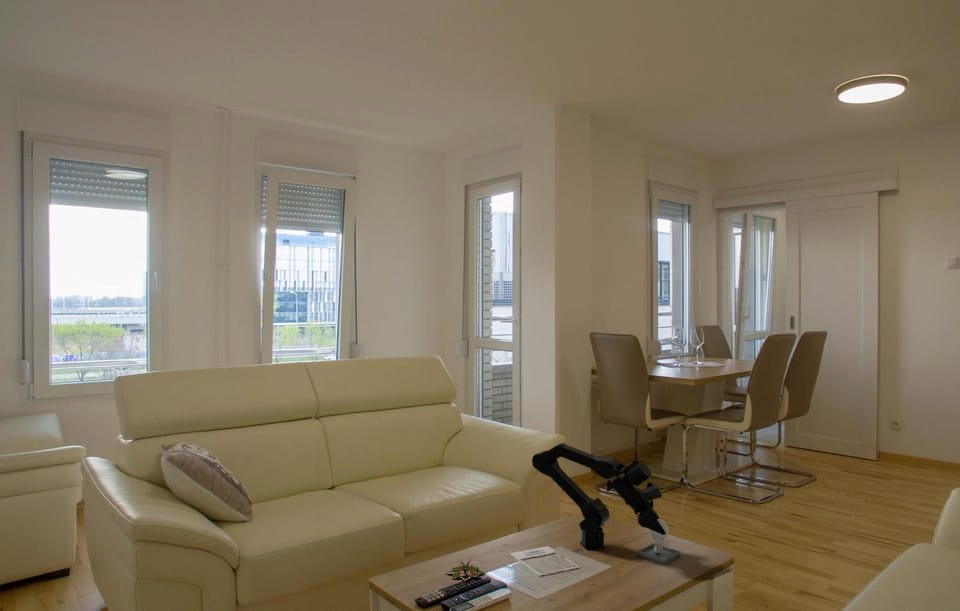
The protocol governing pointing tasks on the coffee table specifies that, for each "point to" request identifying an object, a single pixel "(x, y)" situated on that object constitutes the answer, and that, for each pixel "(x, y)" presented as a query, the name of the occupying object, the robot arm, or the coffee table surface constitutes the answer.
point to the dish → (662, 558)
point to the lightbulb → (659, 537)
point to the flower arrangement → (468, 568)
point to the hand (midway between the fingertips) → (663, 529)
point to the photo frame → (534, 553)
